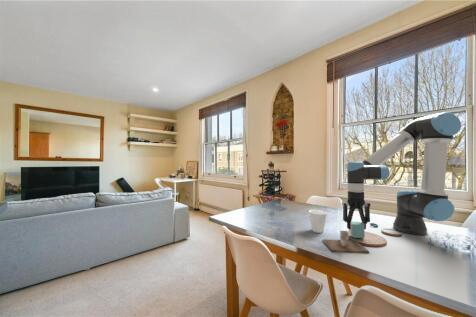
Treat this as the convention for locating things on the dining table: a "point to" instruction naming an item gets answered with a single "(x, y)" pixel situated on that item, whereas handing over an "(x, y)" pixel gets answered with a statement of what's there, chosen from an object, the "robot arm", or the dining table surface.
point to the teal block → (358, 230)
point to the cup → (317, 220)
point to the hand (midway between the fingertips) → (356, 235)
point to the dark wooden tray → (345, 244)
